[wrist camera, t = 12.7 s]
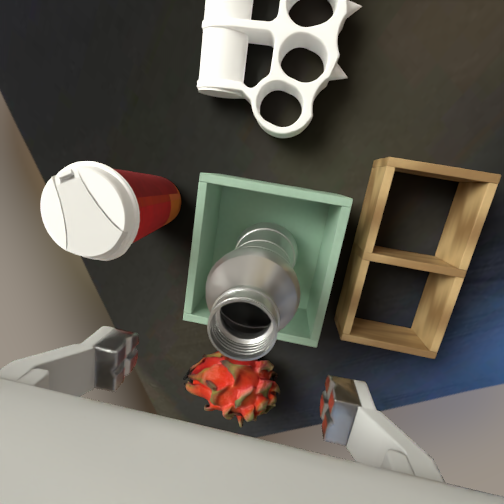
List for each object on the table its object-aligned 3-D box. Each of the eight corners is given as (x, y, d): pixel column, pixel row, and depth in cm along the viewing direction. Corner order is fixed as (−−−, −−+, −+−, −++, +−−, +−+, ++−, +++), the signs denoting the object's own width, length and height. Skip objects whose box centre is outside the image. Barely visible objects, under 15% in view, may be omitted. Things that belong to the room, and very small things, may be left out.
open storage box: (219, 173, 35) (199, 172, 27) (338, 194, 34) (353, 198, 26) (203, 292, 38) (182, 320, 31) (311, 313, 37) (316, 348, 30)
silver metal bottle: (291, 277, 36) (296, 396, 16) (235, 268, 36) (174, 371, 17) (301, 223, 34) (319, 284, 15) (242, 214, 34) (184, 261, 15)
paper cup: (118, 179, 36) (16, 180, 22) (176, 157, 35) (105, 144, 21) (143, 241, 37) (61, 277, 24) (200, 222, 36) (147, 249, 23)
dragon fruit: (287, 369, 41) (205, 351, 44) (287, 343, 35) (191, 323, 38) (275, 441, 36) (182, 414, 39) (271, 424, 29) (161, 394, 32)
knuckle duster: (217, -72, 29) (372, -60, 28) (199, 127, 34) (333, 145, 32) (208, -104, 26) (384, -91, 25) (190, 122, 30) (338, 141, 29)
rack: (374, 160, 32) (389, 156, 28) (469, 175, 32) (501, 174, 27) (333, 318, 37) (340, 340, 32) (415, 335, 36) (435, 359, 32)
